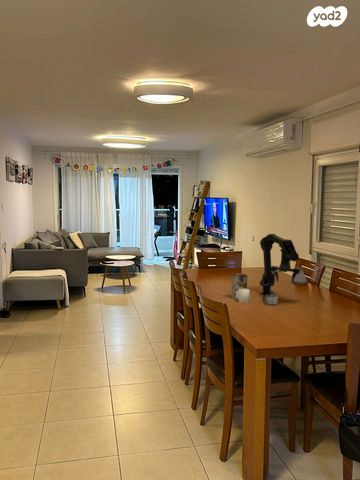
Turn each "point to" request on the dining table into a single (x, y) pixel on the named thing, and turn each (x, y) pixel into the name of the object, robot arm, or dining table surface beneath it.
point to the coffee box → (238, 283)
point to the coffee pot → (300, 278)
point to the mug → (243, 295)
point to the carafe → (271, 299)
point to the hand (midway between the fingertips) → (284, 282)
